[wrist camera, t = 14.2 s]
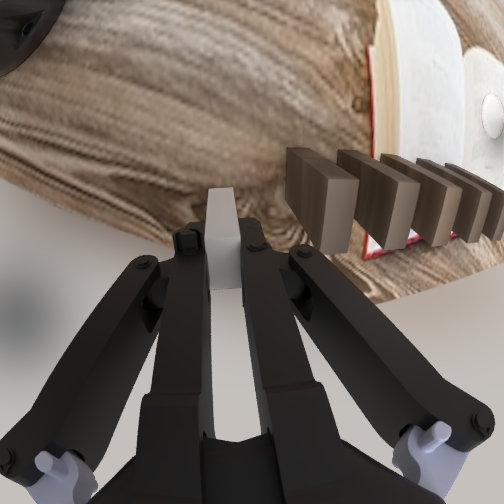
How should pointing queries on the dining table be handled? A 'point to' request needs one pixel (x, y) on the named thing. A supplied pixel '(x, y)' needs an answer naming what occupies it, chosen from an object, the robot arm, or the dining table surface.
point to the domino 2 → (381, 199)
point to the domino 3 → (429, 200)
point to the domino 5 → (500, 210)
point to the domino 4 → (464, 202)
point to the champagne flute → (492, 116)
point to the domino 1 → (321, 199)
